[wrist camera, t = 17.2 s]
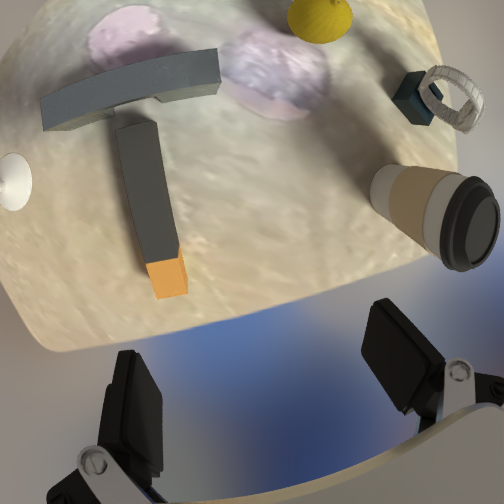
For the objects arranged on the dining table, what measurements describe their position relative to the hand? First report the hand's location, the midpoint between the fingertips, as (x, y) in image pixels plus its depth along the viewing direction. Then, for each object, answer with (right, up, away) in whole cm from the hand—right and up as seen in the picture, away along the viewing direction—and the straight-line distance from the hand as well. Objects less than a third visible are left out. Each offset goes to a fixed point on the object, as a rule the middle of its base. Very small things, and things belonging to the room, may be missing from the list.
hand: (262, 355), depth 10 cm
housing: (-11, +19, +10) cm, 24 cm away
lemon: (+5, +27, +11) cm, 29 cm away
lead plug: (-10, +8, +15) cm, 20 cm away
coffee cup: (+17, +11, +20) cm, 28 cm away
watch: (+19, +23, +15) cm, 34 cm away
